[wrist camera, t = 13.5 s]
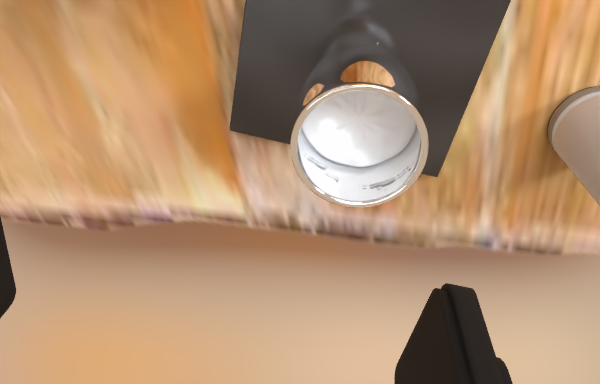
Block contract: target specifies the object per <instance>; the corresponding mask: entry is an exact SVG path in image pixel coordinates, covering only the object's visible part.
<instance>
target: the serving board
mask: <svg viewBox="0 0 600 384" xmlns="http://www.w3.org/2000/svg"><path fill="white" fill-rule="evenodd" d="M510 1H511V0H246V2H245V10H244V18H243V26H242V34H241V42H240V50H239V58H238V66H237V74H236V82H235V90H234V98H233V106H232V114H231V122H230V131H235V132H239V133H244V134H248V135H253V136H257V137H261V138H266V139H270V140H275V141H279V142H284V143H288V144H290V143H291V135H292V131H293V120H294V113H295V108H296V104H297V100H298V96H299V94H300V91H301V89H302V87H303V84H304V82H305V80H306V78H307V77H308V75H309V74H310V72H311V71H312V70H313V69H314V67H315V66H316V65H317V58H318V52H319V49H320V46H321V44H322V42H323V41H324V39H325V38H326V36H327V35H328V34H329V33H330V32H331V31H332V30H333V29H335V28H336V27H338V26H339V25H341V24H344V23H346V22H350V21H356V20H363V21H370V22H373V23H376V24H378V25H380V26H381V27H383V28H384V29H385V30H387V31H388V32H389V34H390V35H391V36H392V37H393V39H394V41H395V42H396V45H397V47H398V51H399V61H400V62H401V63H402V64H403V65H404V67H405V68H406V69H407V70H408V71H409V73H410V74H411V76H412V78H413V79H414V81H415V84H416V86H417V88H418V91H419V93H420V96H421V100H422V104H423V108H424V113H425V121H426V129H427V134H428V141H429V148H428V155H427V160H426V163H425V166H424V168H423V170H422V172H421V174H426V175H430V176H435V177H438V175H439V172H440V170H441V167H442V165H443V162H444V160H445V158H446V155H447V153H448V150H449V148H450V146H451V143H452V141H453V138H454V136H455V134H456V131H457V129H458V126H459V124H460V122H461V119H462V117H463V114H464V112H465V109H466V107H467V105H468V102H469V100H470V97H471V95H472V93H473V90H474V88H475V85H476V83H477V81H478V78H479V76H480V73H481V71H482V69H483V66H484V64H485V61H486V59H487V56H488V54H489V52H490V49H491V47H492V44H493V42H494V40H495V37H496V35H497V32H498V30H499V28H500V25H501V23H502V20H503V18H504V16H505V13H506V11H507V8H508V6H509V3H510Z"/></svg>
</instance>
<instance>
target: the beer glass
mask: <svg viewBox="0 0 600 384" xmlns="http://www.w3.org/2000/svg"><path fill="white" fill-rule="evenodd" d="M428 148H429V141H428V134H427V129H426V121H425V113H424V108H423V104H422V100H421V96H420V93H419V91H418V88H417V86H416V84H415V81H414V79H413V78H412V76H411V74H410V73H409V71H408V70H407V69H406V68H405V67H404V65H403V64H402V63H401V62H400V61H399V51H398V47H397V45H396V42H395V41H394V39H393V37H392V36H391V35H390V34H389V32H388V31H387V30H385V29H384V28H383V27H381V26H380V25H378V24H376V23H373V22H370V21H363V20H356V21H350V22H346V23H344V24H341V25H339V26H338V27H336V28H335V29H333V30H332V31H331V32H330V33H329V34H328V35H327V36H326V38H325V39H324V41H323V42H322V44H321V46H320V49H319V52H318V58H317V65H316V66H315V67H314V69H313V70H312V71H311V72H310V74H309V75H308V77H307V78H306V80H305V82H304V84H303V87H302V89H301V91H300V94H299V96H298V100H297V104H296V108H295V113H294V120H293V131H292V135H291V143H290V150H291V157H292V161H293V165H294V167H295V170H296V172H297V174H298V175H299V177H300V179H301V180H302V181H303V183H304V184H305V185H306V186H307V187H308V188H309V189H310V190H311V191H312V192H314V193H315V194H316V195H318V196H319V197H321V198H323V199H325V200H327V201H329V202H331V203H334V204H337V205H341V206H346V207H356V208H361V207H371V206H376V205H380V204H383V203H386V202H388V201H391V200H393V199H395V198H396V197H398V196H400V195H401V194H403V193H404V192H405V191H406V190H407V189H409V188H410V187H411V186H412V185H413V183H414V182H415V181H416V180H417V178H418V177H419V175H420V174H421V172H422V170H423V168H424V166H425V163H426V160H427V155H428Z"/></svg>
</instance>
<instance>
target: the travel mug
mask: <svg viewBox="0 0 600 384" xmlns="http://www.w3.org/2000/svg"><path fill="white" fill-rule="evenodd" d="M548 138H549V142H550V144H551V146H552V147H553V149H554V150H555V151H556V153H557V154H558V155H559V156H560V158H561V159H562V160H563V161H564V162H565V164H566V165H567V166H568V167H569V169H570V170H571V171H572V172H573V174H574V175H575V176H576V177H577V178H578V180H579V181H580V182H581V183H582V185H583V186H584V187H585V188H586V190H587V191H588V192H589V193H590V195H591V196H592V197H593V198H594V199H595V201H596V202H597V203H598V204H599V206H600V86H598V87H592V88H587V89H584V90H582V91H579V92H577V93H575V94H573V95H572V96H570V97H569V98H567V99H566V100H565V101H564V102H563V103H562V104H561V105H560V106H559V107H558V108H557V109H556V111H555V112H554V114H553V115H552V117H551V120H550V122H549V126H548Z"/></svg>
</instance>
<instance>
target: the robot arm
mask: <svg viewBox="0 0 600 384" xmlns="http://www.w3.org/2000/svg"><path fill="white" fill-rule="evenodd" d="M15 294H16V287H15V282H14V277H13V273H12V268H11V264H10V259H9V254H8V250H7V245H6V240H5V236H4V231H3V226H2V222H1V217H0V318H1V317H2V315H3V314H4V313H5V312H6V311H7V309H8V308H9V307H10V305H11V304H12V302H13V300H14V298H15ZM395 384H512V381H511V378H510V375H509V372H508V369H507V367H506V365H505V363H504V362H503V361H502V360H501V359H500V358H497V357H496V356H495V352H494V349H493V346H492V343H491V340H490V337H489V334H488V331H487V327H486V324H485V321H484V318H483V315H482V311H481V308H480V305H479V302H478V299H477V296H476V293H475V291H474V290H473V289H472V288H467V287H462V286H457V285H453V284H444V285H443V286H442V288H441V289H437V288H435V289H434V290H433V291H432V293H431V295H430V297H429V299H428V301H427V303H426V305H425V307H424V309H423V311H422V313H421V316H420V318H419V320H418V322H417V324H416V326H415V328H414V330H413V332H412V334H411V336H410V338H409V340H408V343H407V345H406V347H405V349H404V351H403V353H402V355H401V357H400V359H399V361H398V363H397V366H396V370H395Z"/></svg>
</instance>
